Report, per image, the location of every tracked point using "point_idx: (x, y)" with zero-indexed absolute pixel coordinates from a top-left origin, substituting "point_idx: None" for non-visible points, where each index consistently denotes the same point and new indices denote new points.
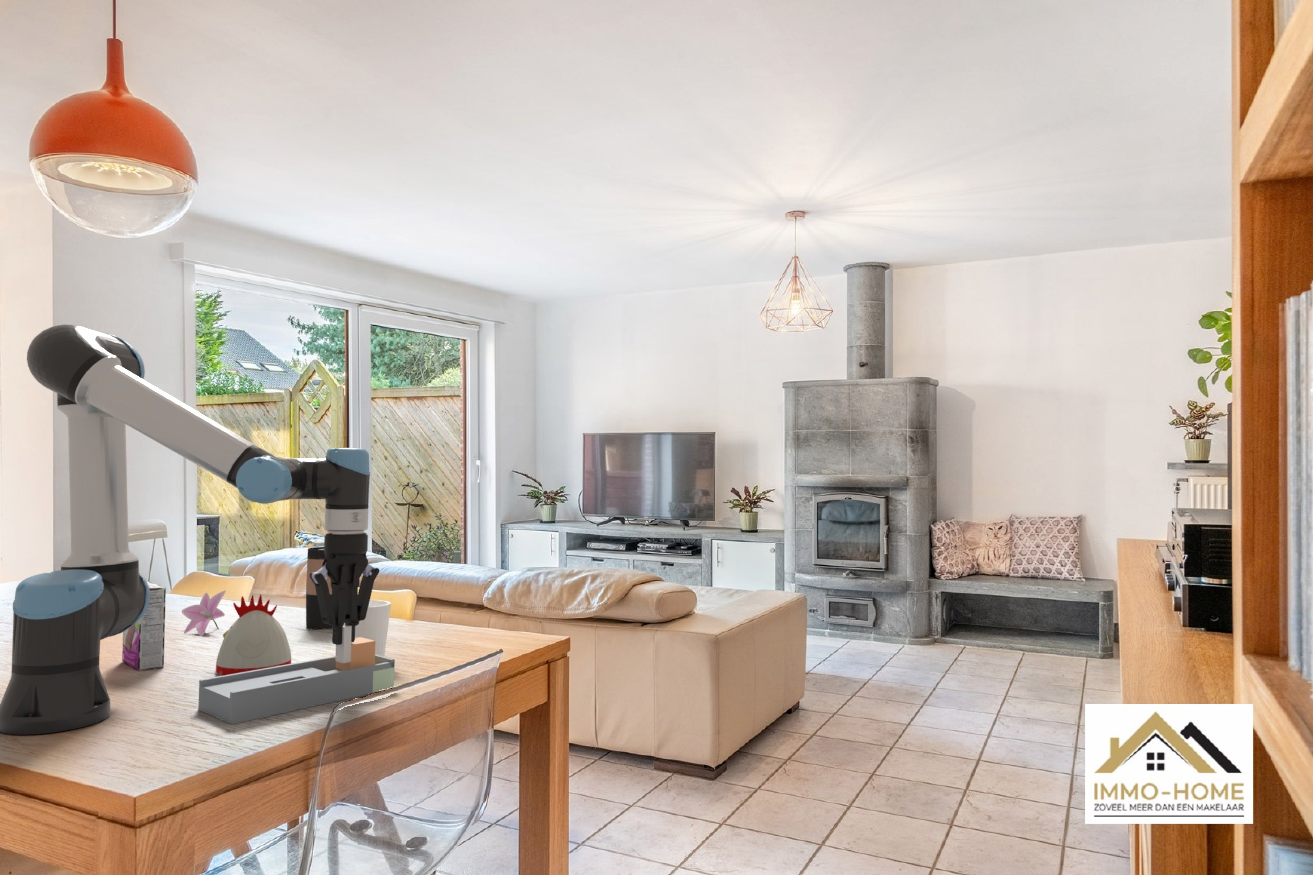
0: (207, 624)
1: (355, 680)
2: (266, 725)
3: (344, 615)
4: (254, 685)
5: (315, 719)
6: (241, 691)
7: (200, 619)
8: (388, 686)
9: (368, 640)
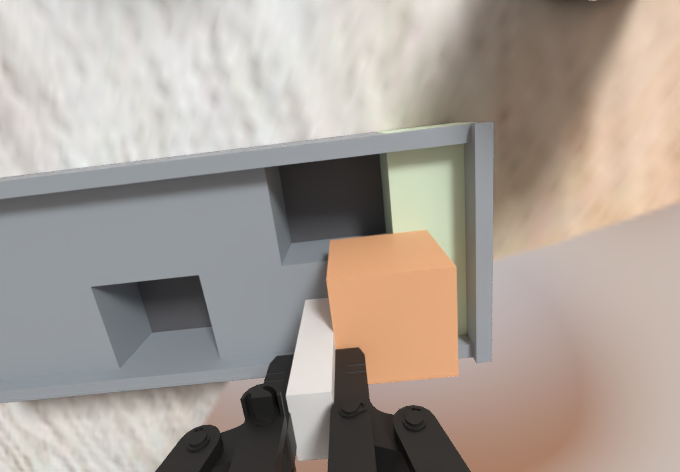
0: None
1: None
2: (101, 401)
3: (330, 440)
4: (45, 299)
5: (199, 421)
6: None
7: None
8: None
9: (441, 351)
